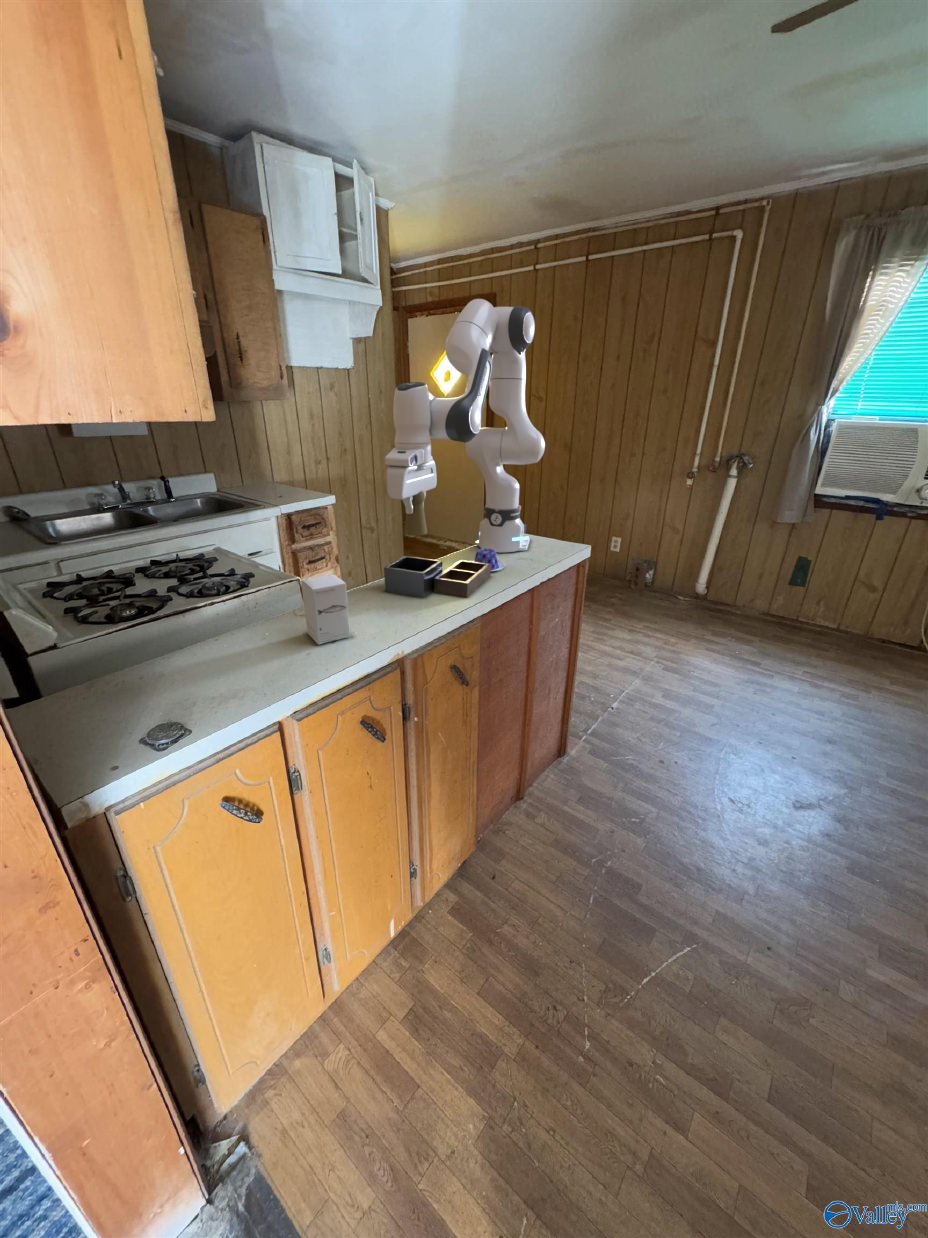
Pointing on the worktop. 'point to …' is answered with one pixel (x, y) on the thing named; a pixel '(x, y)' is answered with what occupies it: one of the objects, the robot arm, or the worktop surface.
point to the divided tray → (462, 578)
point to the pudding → (489, 559)
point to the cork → (416, 517)
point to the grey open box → (412, 576)
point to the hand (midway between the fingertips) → (414, 511)
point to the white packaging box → (326, 608)
